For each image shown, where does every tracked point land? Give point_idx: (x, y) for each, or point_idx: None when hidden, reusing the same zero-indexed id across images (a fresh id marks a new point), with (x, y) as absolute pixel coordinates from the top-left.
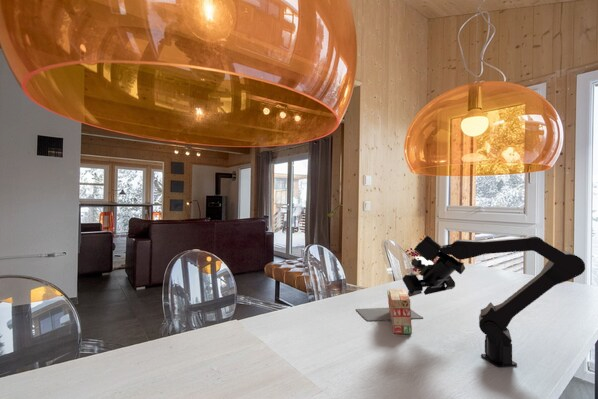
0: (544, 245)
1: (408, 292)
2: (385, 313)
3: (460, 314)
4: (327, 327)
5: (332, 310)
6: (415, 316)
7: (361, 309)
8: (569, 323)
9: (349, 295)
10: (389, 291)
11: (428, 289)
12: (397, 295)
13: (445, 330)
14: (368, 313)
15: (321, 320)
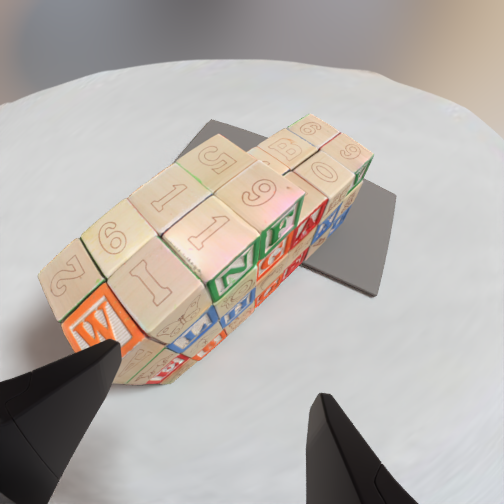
0: None
1: (85, 352)
2: None
3: (492, 332)
4: (37, 178)
5: (150, 102)
6: (358, 271)
7: (224, 128)
8: None
9: (295, 68)
10: (184, 157)
11: (325, 465)
12: (121, 249)
13: None
14: None
15: (67, 139)
